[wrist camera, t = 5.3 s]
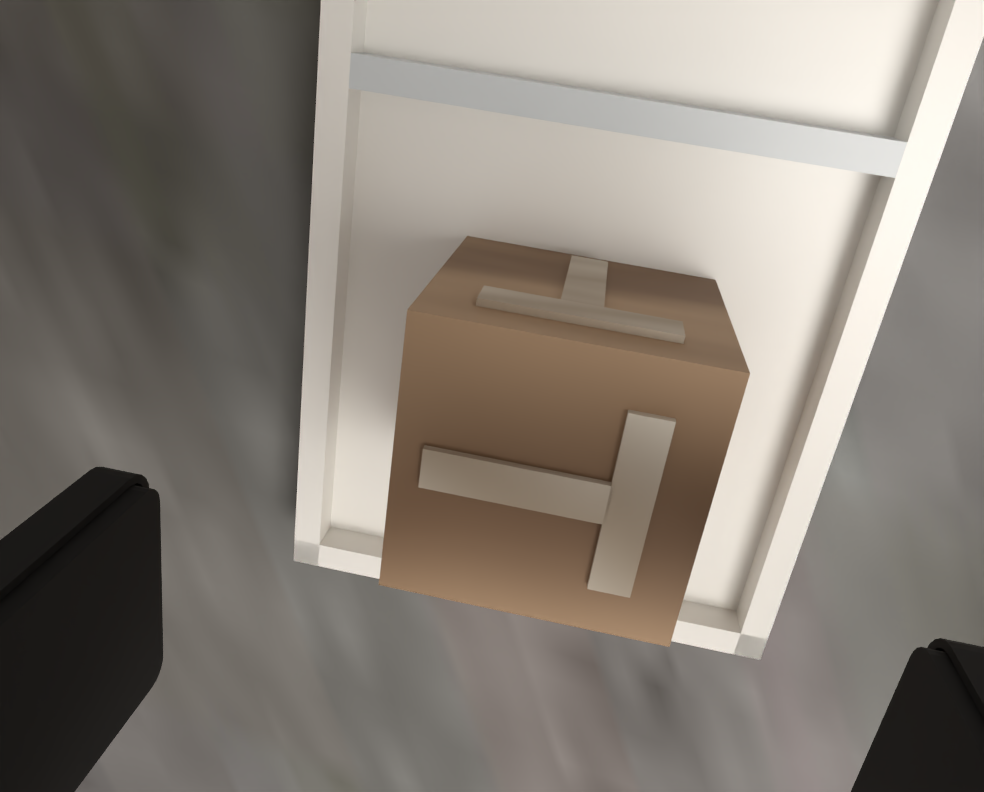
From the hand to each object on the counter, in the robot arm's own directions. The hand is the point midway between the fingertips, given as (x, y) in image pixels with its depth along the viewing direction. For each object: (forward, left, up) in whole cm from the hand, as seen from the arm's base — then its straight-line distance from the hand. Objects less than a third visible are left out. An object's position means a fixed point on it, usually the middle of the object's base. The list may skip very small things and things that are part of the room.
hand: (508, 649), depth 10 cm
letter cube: (0, 0, -8) cm, 8 cm away
